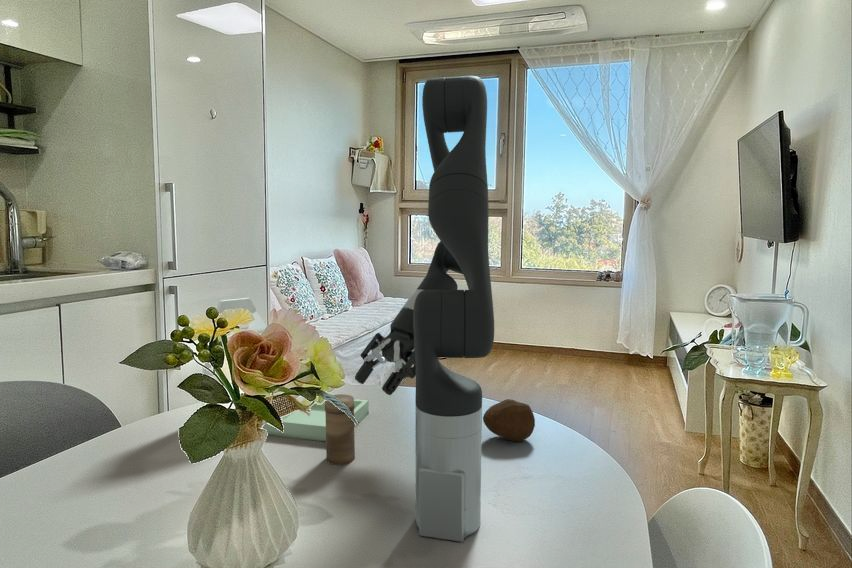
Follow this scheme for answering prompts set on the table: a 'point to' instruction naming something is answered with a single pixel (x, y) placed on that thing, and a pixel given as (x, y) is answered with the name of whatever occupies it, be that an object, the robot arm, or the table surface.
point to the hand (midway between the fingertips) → (371, 386)
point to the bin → (313, 422)
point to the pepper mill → (340, 432)
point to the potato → (510, 420)
